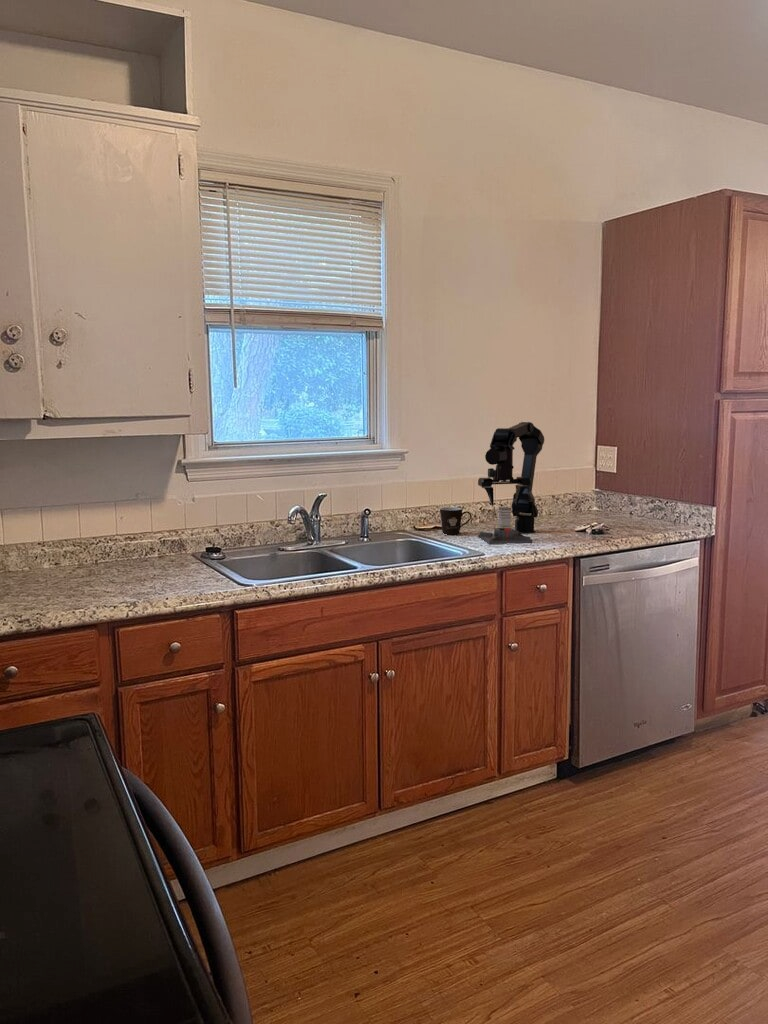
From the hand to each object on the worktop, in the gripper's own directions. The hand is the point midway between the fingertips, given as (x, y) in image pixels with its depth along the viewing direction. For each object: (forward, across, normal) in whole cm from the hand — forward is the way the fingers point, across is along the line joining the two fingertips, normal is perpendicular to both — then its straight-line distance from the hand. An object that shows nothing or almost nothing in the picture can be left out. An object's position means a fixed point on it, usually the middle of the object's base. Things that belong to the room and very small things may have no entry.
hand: (504, 504), depth 287 cm
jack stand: (+13, 0, +1) cm, 13 cm away
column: (+8, 0, +1) cm, 8 cm away
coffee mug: (+13, +15, -14) cm, 25 cm away
